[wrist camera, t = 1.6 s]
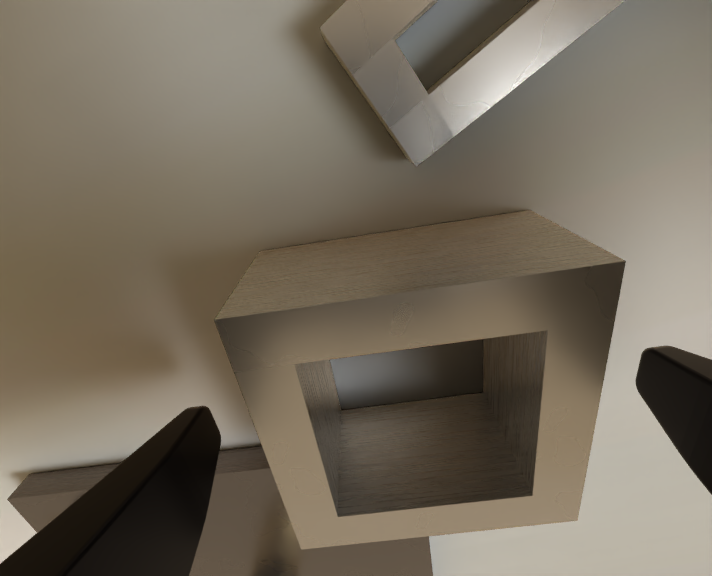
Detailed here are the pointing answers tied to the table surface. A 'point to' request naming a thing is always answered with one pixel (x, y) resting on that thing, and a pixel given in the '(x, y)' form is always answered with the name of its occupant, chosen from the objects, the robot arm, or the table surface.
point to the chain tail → (464, 81)
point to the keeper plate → (239, 525)
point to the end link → (433, 416)
